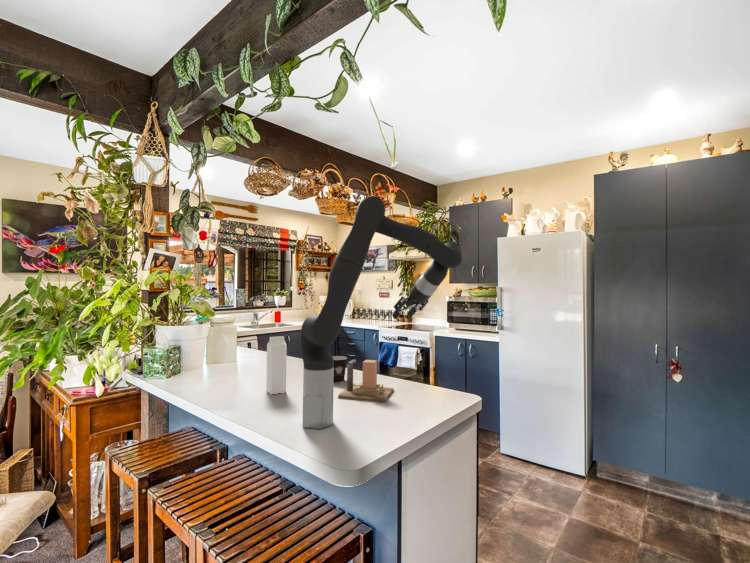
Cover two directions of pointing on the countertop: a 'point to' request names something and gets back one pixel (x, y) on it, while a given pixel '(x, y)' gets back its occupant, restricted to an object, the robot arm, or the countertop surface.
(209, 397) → the countertop surface
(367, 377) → the link block
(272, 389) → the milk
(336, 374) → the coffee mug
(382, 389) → the pintle seat
